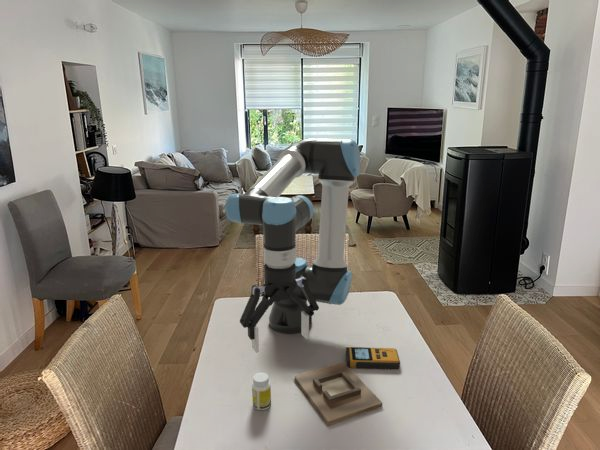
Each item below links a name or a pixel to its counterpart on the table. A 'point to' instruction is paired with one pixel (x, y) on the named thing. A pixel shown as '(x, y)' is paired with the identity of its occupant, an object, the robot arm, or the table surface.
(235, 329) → the table surface
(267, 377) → the supplement bottle
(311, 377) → the board
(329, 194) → the robot arm
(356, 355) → the electronic device
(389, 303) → the table surface
